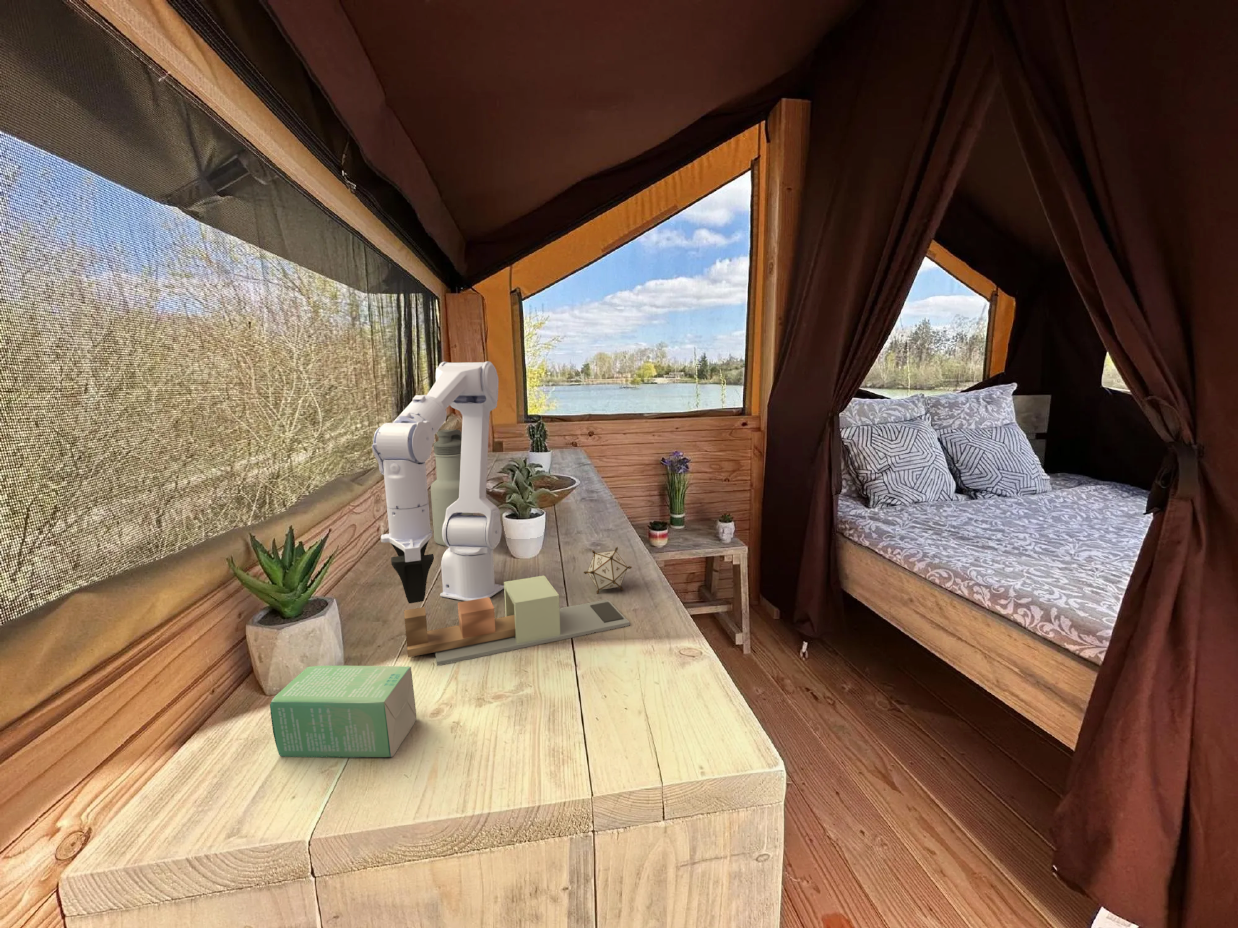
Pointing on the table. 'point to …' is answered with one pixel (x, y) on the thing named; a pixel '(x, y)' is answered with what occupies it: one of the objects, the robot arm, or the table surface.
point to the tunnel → (533, 608)
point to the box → (344, 712)
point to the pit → (606, 612)
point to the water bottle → (445, 478)
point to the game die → (607, 570)
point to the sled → (457, 628)
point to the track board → (571, 625)
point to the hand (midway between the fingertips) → (415, 591)
